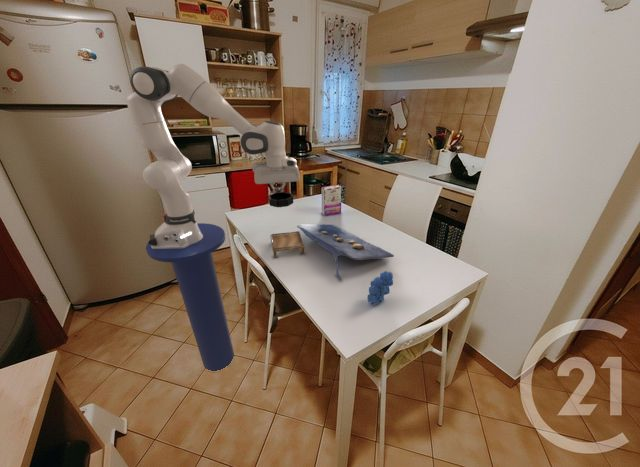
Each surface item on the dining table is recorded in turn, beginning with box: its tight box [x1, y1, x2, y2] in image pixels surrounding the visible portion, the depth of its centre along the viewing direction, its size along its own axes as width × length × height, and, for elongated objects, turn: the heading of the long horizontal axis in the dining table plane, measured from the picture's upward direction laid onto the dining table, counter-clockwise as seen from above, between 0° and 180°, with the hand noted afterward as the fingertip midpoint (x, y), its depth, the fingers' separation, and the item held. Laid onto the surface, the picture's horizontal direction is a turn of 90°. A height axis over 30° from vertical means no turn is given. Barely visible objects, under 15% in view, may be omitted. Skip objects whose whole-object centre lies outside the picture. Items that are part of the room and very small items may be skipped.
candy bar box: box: [321, 184, 343, 217], centre depth 155 cm, size 11×5×16 cm, turn 113°
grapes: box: [366, 270, 394, 306], centre depth 89 cm, size 12×7×12 cm, turn 129°
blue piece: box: [296, 223, 395, 280], centre depth 121 cm, size 45×27×12 cm, turn 36°
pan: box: [268, 186, 294, 208], centre depth 116 cm, size 10×19×3 cm, turn 14°
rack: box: [269, 230, 306, 259], centre depth 121 cm, size 14×14×5 cm
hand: (278, 191), depth 121 cm, fingers closed on pan, 2 cm apart
